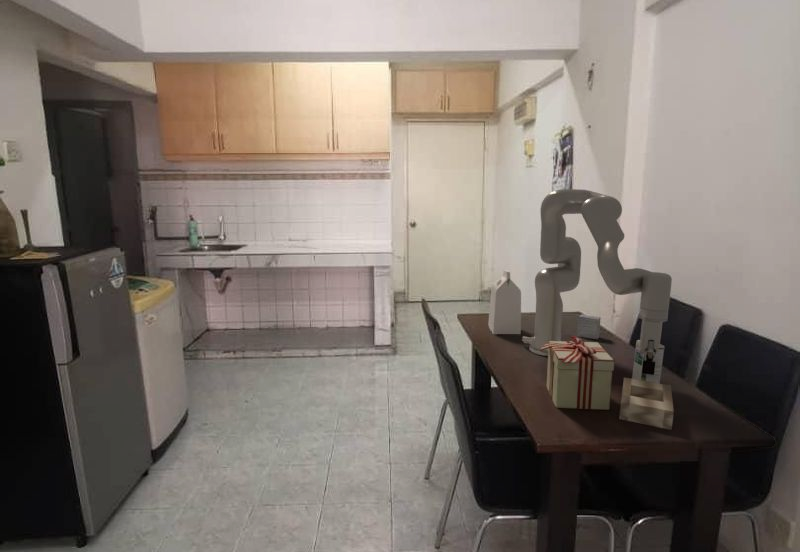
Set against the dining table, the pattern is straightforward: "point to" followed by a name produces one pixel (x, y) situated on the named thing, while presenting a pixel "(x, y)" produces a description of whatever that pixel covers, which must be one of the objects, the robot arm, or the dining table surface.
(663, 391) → the socket block
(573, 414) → the dining table surface
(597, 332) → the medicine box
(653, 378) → the syrup box
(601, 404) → the gift box
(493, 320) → the milk
